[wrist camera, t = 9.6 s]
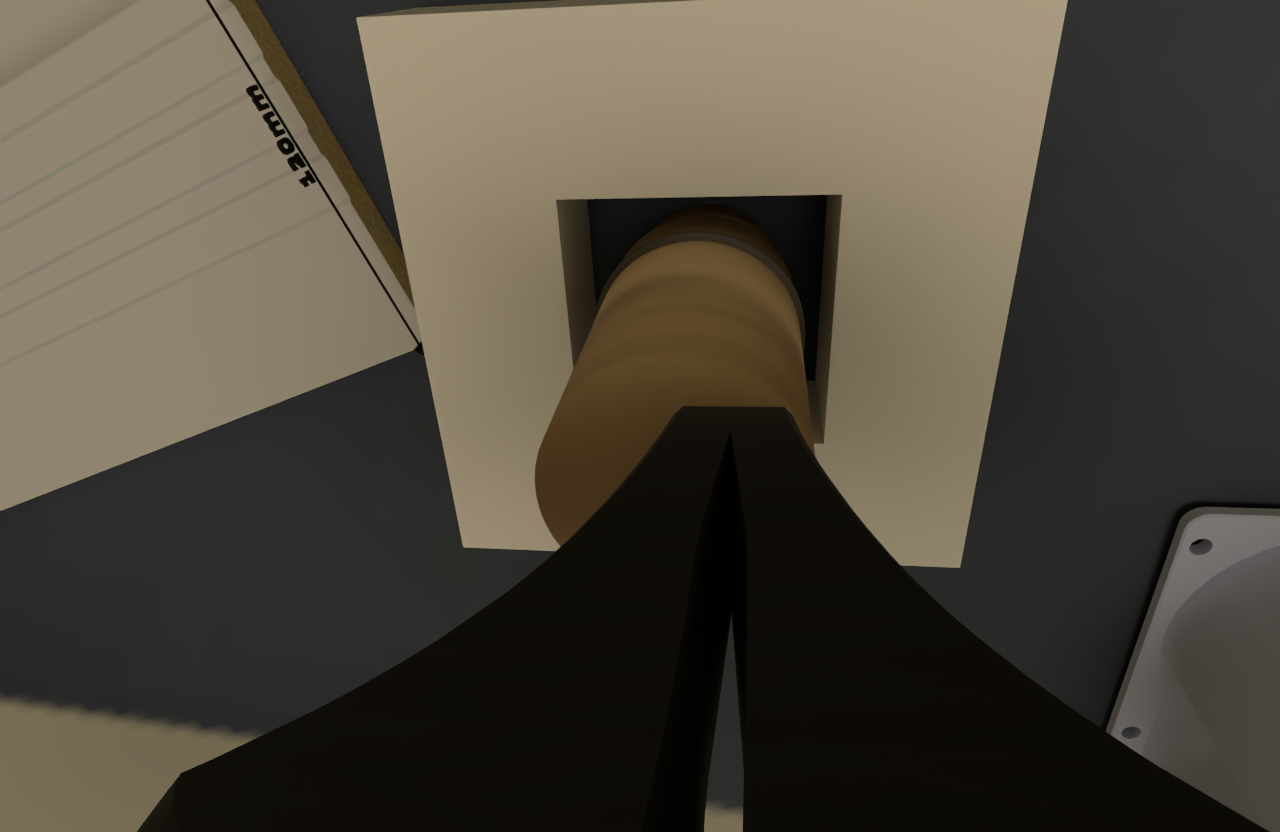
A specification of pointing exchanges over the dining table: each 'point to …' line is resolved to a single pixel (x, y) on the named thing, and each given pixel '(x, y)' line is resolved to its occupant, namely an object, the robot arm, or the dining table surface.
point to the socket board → (720, 167)
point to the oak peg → (672, 354)
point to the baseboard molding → (171, 235)
